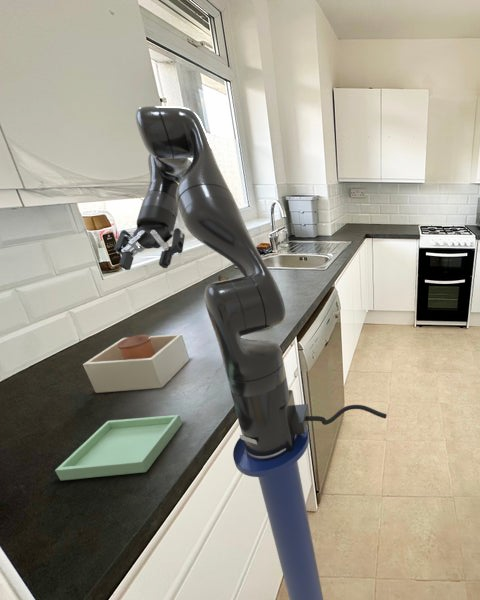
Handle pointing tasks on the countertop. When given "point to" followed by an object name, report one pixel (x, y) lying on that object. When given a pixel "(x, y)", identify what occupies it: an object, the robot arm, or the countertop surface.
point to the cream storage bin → (137, 366)
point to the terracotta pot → (136, 347)
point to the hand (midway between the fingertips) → (144, 267)
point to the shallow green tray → (120, 448)
